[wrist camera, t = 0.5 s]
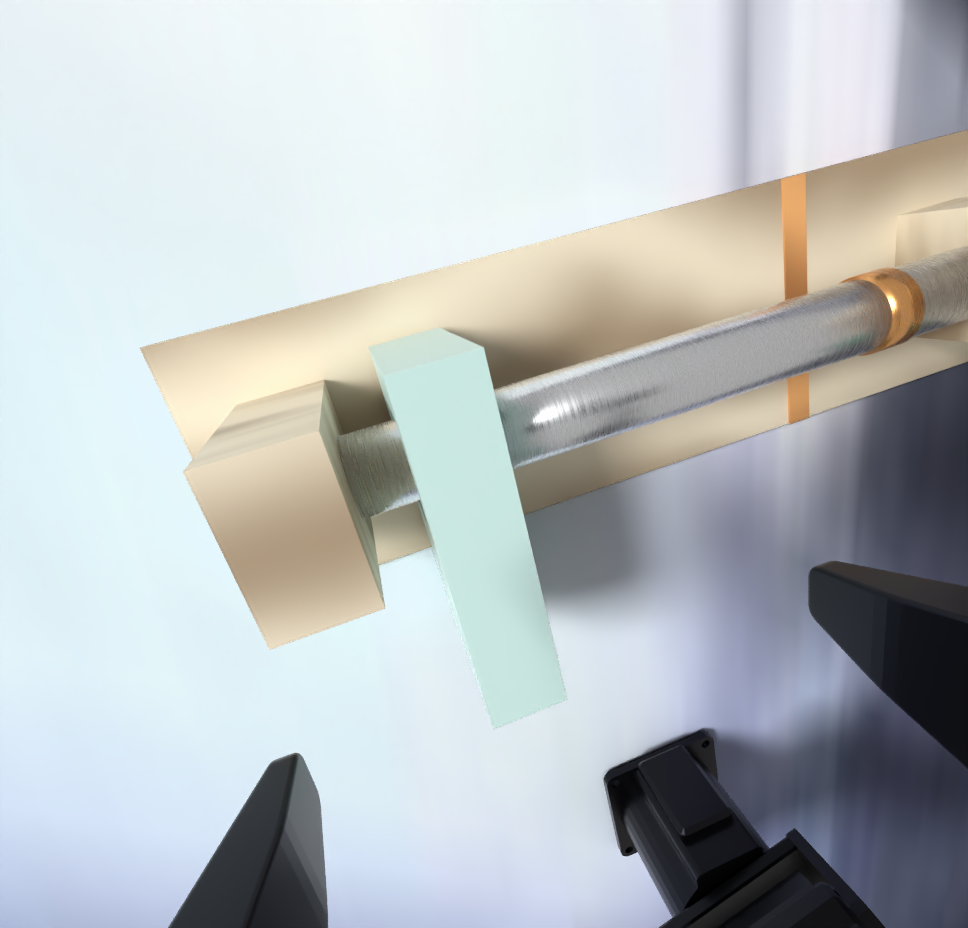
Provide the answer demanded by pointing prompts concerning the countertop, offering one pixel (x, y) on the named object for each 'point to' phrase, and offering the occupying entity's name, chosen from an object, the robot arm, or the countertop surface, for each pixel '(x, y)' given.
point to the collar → (473, 516)
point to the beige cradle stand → (536, 362)
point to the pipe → (686, 371)
